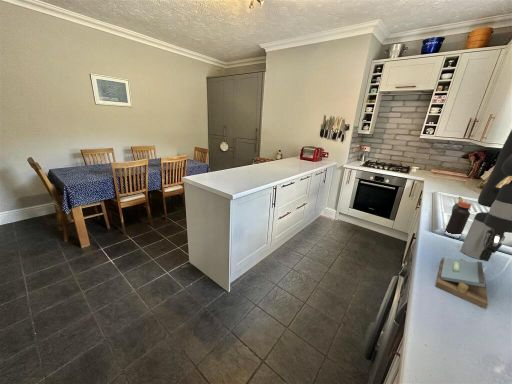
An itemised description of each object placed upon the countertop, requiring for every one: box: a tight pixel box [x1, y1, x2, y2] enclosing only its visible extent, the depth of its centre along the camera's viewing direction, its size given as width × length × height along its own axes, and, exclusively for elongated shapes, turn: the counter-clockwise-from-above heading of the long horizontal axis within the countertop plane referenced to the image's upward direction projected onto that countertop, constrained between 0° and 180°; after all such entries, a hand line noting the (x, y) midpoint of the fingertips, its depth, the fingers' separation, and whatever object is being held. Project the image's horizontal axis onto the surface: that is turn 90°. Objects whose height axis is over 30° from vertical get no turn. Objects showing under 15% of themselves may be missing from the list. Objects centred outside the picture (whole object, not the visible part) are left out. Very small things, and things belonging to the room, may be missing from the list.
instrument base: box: [435, 257, 489, 309], centre depth 80 cm, size 23×13×4 cm, turn 135°
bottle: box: [444, 200, 472, 235], centre depth 114 cm, size 7×7×20 cm
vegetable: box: [451, 196, 464, 213], centre depth 124 cm, size 4×4×20 cm
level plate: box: [441, 257, 486, 287], centre depth 79 cm, size 17×11×3 cm, turn 135°
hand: (483, 259), depth 74 cm, fingers closed
